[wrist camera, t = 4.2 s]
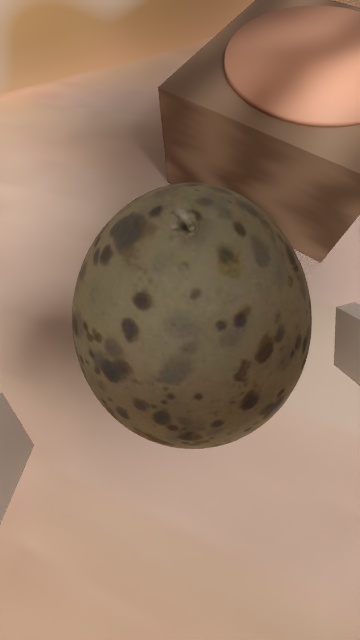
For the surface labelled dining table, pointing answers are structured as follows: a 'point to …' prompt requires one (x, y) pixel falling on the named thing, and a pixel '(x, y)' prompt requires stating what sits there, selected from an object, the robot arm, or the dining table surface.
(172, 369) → the decorative egg
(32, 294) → the dining table surface
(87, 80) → the dining table surface
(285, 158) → the pedestal
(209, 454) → the dining table surface
